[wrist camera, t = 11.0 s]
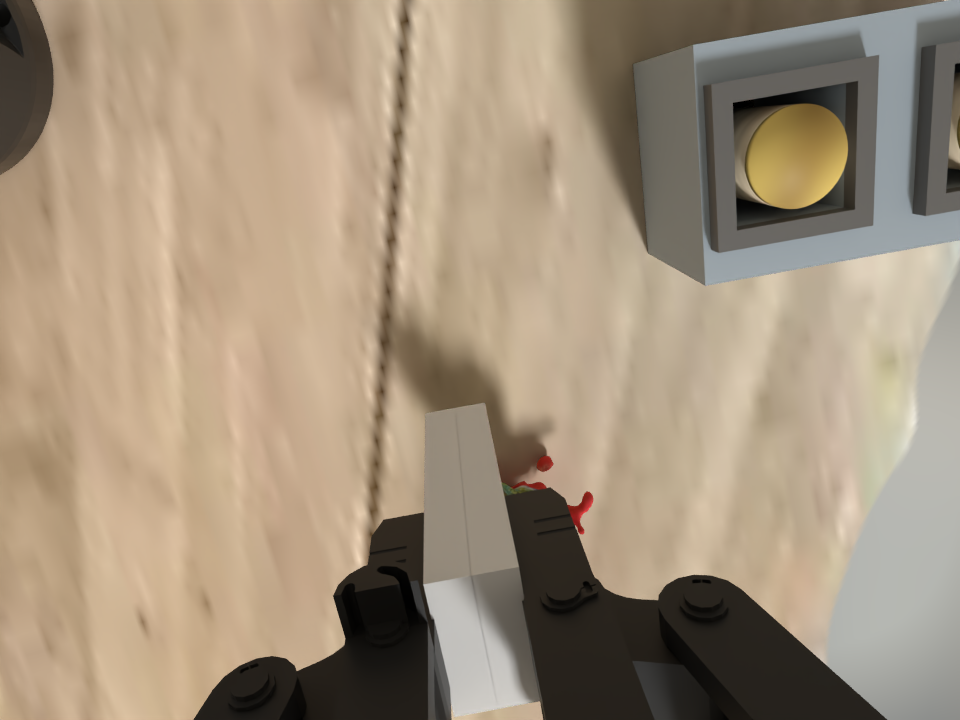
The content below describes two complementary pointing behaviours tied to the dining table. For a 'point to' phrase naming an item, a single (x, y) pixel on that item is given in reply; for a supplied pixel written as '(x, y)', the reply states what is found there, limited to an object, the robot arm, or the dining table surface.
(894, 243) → the socket block
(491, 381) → the dining table surface
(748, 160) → the peg
